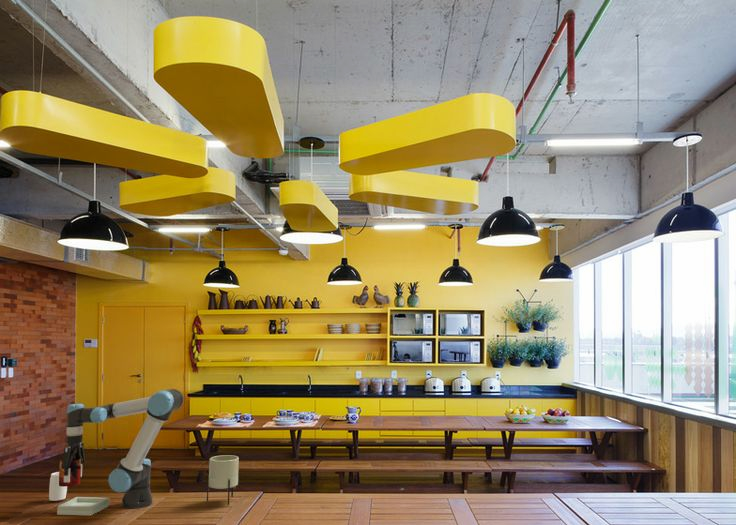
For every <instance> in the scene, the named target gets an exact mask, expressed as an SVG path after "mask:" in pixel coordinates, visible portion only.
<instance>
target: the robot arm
mask: <svg viewBox="0 0 736 525" xmlns="http://www.w3.org/2000/svg"><path fill="white" fill-rule="evenodd" d="M184 400H185V399H184V395H183V392H181V391H180V390H179V389H175V388H170V389H166V390H159V391H157V392H155V393H153V394H152V395H151V396H147V397H142V398H136V399H132V400H131V399H130V400H126V401H121V402H119V401H118V402H114V403H107V404H105V405H100V406H94V407H85V405H84V404H83V403H73V404H69V405H68V406H67V410H66V411H67V412H66V435H67V436H66V437H65V442H66V444H67V445H68V446H67V447H64V448H63V455H62V456H63V457H62V460H63V461H62V466H61V468H62V469H64V482H70V469H69V467H70V464H71V461H72V458H74V456H75V458H76V460H78V459H79V458H81V471H80V478H82V476H83V464H85V463H86V455H85V448H84V447H85V444H84V442H83V439H84V438H83V434H84V429H83V428H84V423H85V424H86V423H89V424H91V423H92V424H98V423H99V424H100V423H103V422H104V421H106V420H111V419H115V418H120V417H126V416H131V415H137V414H142V413H146V416H147V417H146V418H145V420H144V422H143V423H142V425H141V427H140V430H139V432H138V434H137V435H136V437H135V440H134V442H133V443H132V445H131V447H130V448H129V451H128V453H127V454H126V457H124V458H121V460H120V462H119V463H118V465H117V467H116V468H115V469H113V470H112V471H111V472H110V474H109V475H108V479H107V480H108V484H109V487H110V489H111V490H113V491H114V492H116V493H123V492H124V494H123V496H122V499H121V502H120V503H121V507H122V508H125V509H139V508H145V507H148V506H150V505H152V503H153V495H152V492H151V489H150V488H151V486H150V485H151V470H152V469H151V468H152V465H151V464H152V463H151V459H150V458H146V457H147V454H148V453H149V451H150V449H151V448H152V445H153V444H154V442H155V439H156V438H157V436H158V434H159V432H160V430H161V428H162V426H163V424H164V423H165V422H168V421H169V419H170V417H171V415H172V414H173V412H176V411H178V410H179V409H181V407H182V405H183V404H184V402H185V401H184Z"/></svg>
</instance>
